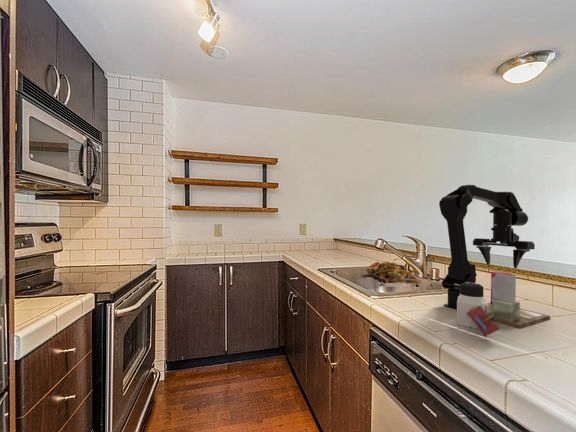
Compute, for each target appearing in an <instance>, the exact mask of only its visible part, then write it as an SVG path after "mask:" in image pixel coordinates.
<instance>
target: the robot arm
mask: <svg viewBox="0 0 576 432" xmlns="http://www.w3.org/2000/svg"><path fill="white" fill-rule="evenodd" d="M473 199H474V200H477V201H478V200H479V201H482V202H485V203H487V205H488V206H489V207H492V208H491V209H490V210H489V213H490V214H492V227H490V230H491V231H492V237H491V238H478V237H477V238H476V237H475V238H474V239H473V240H472V245H473V246H475V248H476V249H478V250H479V251H480V254H481V255H482V256H483V258H484V261H485V262H486V264H487V265H488V266H490V264H491V249H492V246H498V247H511V248H515V249H513V250H512V255H513V257H512V261H513V268H514V269H517V268H518V266H519V264H520V262H521V260H522V258H523V257H524V255H525V254H526V253H527V252H530V251H531V250H535V249H536V248H535V246H536V245H535V242H533V241H532V240H531V241H528V240H520V236H519V235H518V234H517V233H515V232H514V228H512V227H513V226H514V227H515V226H517V227H522V226H525V225H526V224H527V223H528V221H529V216H528V215H527V213H526V212H524V211H523V208H522V207H521V205H520V203H519V201H518V199H517V197H516V195H515V193H514V192H512V191H494V190H490V189H488V188H485V187H484V188H483V187H480V186H477V185H475V184H464V185H460V186H459V187H458V188H456V189H454V191H451V192H450V193H448V194H446V195H445V196H443V197H442V198H441V199H440V200H439V203H438V205H439V209H440V213H441V216H442V217H443V218H444V219H445V221H446V224H447V231H448V241H449V242H448V243H449V248H450V256H451V262H450V264H449V265H448V267H447V274H446V276H445V277H444V278H443V279H442V281H441V286H442V288H444V289H447V303H444V304H443V306H444V307H446V308H450V309H454V310H457V300H458V296H460V284H461V283H465V282H469V283H477V282H476V281H477V276H478V275H477V272H476V271H477V270H476V268H477V267H476V265H475V264H474V263H470V261H469V260H468V252H467V243H466V235H465V234H466V232H465V227H464V226H465V225H464V219H465V217H466V216H467V213H468V206H469V205H470V204H471V203H472V202H473Z"/></svg>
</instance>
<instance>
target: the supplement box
mask: <svg viewBox="0 0 576 432" xmlns="http://www.w3.org/2000/svg"><path fill="white" fill-rule="evenodd" d="M516 279H517V277H516V275H515V274H513V273H509V272H497V271H491V272H490V304H493V300H497V299H506V300H511V301H515V302H517V301H516V297H517V295H516V292H517V287H516V285H517V284H516V281H517V280H516Z"/></svg>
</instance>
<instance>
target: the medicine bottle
mask: <svg viewBox="0 0 576 432" xmlns="http://www.w3.org/2000/svg"><path fill="white" fill-rule="evenodd" d="M475 306H481V307H482V308H483V310H484V311H485V313H486V314H487V302H486V299H485V298H484V287H483V285H481V284H479V283H477V282H475V283H469V282H465V283H461V284H460V296H458V300H457V309H456V325H457V326H460V327H467V328H469V327H470V326H471V327H472V326H473V325H475V324H474V322H473V321H472V319H471V318H470V317H469V316H468V315H467V314H466V313H467V312H468V311H469V310H470V309H471V308H472V307H475ZM485 308H486V309H485ZM467 317H468V318H467ZM470 319H471V320H470ZM468 322H469V323H468ZM471 322H473V323H472V324H471ZM471 327H470V328H471ZM476 327H477V325H476ZM476 327H475V326H474V327H472V328H471V329H477V328H478V327H477V328H476ZM478 329H479V328H478ZM478 329H477V330H478ZM479 330H480V329H479Z"/></svg>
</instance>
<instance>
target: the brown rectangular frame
mask: <svg viewBox="0 0 576 432" xmlns="http://www.w3.org/2000/svg"><path fill="white" fill-rule="evenodd" d="M520 303H521V302H519V301H516V302H515V301H511V300H506V299H497V300H493V303H492V312H491V313H490V312H488V313H489V314H490V315H493V314H495V313H496V314H495V315H494V316H495V317H494V316H493V318H492V319H491V320H492V321H493V322H496V323H500V324H504V325H508V326H511V327H514V328H517V329H522V328H525V327H528V326H532V325H535V324H537V323H541V322H544V321H547V320H550V319H551V315H550V314H546V313H541V312H538V311H532V310H529V309H524V308H520V307H521V304H520ZM488 313H486V314H487V315H488V316H490V315H489V314H488ZM493 319H494V320H495V321H494V320H493ZM497 320H498V321H497Z"/></svg>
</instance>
